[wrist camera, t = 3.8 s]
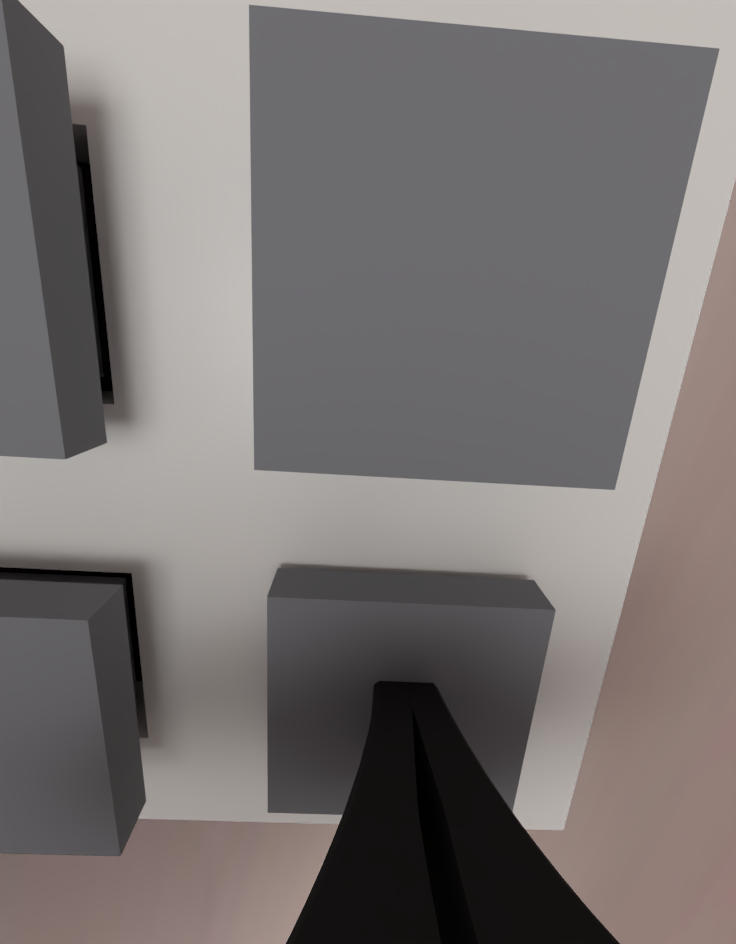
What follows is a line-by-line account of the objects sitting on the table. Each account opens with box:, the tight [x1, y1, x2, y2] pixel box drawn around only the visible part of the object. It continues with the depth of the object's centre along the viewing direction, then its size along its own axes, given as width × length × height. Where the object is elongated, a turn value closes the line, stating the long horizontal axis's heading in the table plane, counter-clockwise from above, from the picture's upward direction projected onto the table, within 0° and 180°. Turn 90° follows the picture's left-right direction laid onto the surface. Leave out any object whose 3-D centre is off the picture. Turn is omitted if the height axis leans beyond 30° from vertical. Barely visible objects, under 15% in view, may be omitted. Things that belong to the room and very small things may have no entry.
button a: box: [0, 572, 146, 856], centre depth 10 cm, size 6×6×3 cm
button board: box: [0, 0, 736, 830], centre depth 11 cm, size 20×20×2 cm
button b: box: [267, 568, 556, 815], centre depth 11 cm, size 6×6×3 cm
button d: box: [249, 5, 720, 490], centre depth 8 cm, size 6×6×3 cm
